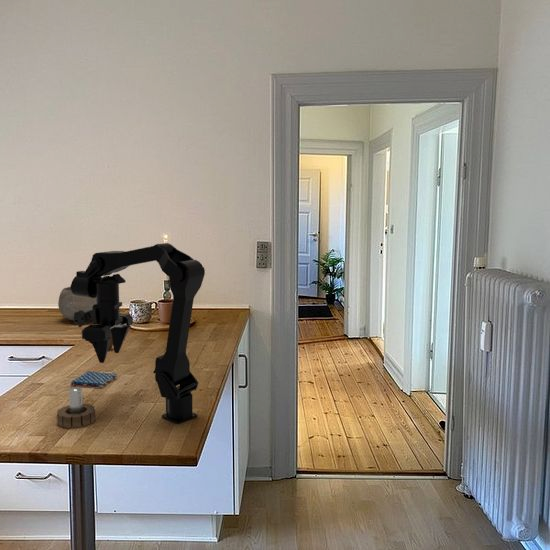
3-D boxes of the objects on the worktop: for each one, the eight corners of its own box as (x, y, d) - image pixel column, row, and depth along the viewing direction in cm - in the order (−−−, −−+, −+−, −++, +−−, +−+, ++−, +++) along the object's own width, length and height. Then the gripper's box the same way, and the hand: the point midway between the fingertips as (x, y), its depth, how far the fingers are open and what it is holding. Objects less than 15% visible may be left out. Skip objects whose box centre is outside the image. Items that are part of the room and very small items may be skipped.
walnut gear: (102, 419, 136) (101, 409, 135) (69, 430, 129) (69, 420, 129) (82, 411, 141) (82, 401, 141) (50, 421, 135) (50, 410, 134)
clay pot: (55, 326, 231) (54, 291, 229) (62, 316, 251) (61, 283, 249) (108, 324, 236) (107, 289, 234) (111, 314, 256) (110, 282, 254)
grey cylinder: (85, 420, 135) (84, 388, 134) (74, 424, 133) (73, 392, 132) (78, 417, 137) (77, 386, 136) (67, 420, 135) (66, 389, 134)
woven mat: (119, 379, 168) (119, 372, 168) (102, 390, 158) (102, 384, 157) (87, 376, 170) (87, 370, 169) (68, 388, 159) (68, 381, 159)
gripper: (94, 292, 155) (96, 346, 157) (60, 305, 136) (62, 366, 138) (132, 293, 153) (134, 348, 155) (103, 306, 135) (105, 368, 137)
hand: (109, 357), depth 147 cm, fingers open, 9 cm apart
